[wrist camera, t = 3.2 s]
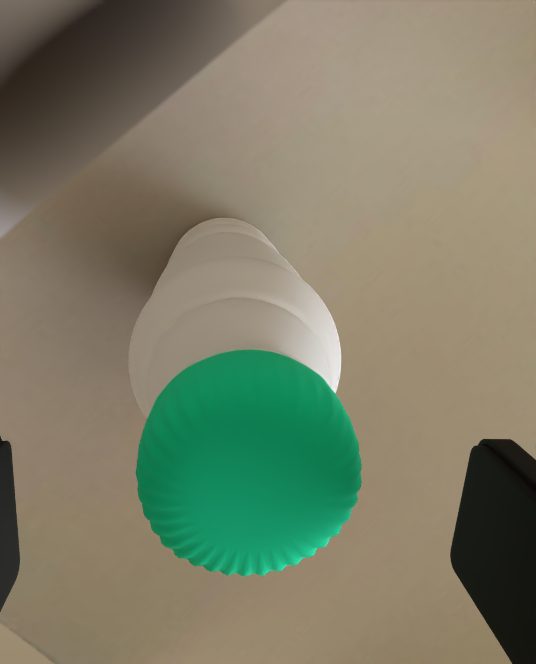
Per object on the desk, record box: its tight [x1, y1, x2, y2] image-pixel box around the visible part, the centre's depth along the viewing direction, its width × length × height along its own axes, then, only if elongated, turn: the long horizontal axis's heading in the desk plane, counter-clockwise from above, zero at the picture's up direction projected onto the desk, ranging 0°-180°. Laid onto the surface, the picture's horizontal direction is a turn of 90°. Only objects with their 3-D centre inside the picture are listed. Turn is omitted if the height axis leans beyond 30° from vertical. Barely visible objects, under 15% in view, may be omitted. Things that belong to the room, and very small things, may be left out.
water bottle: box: [128, 218, 361, 577], centre depth 22 cm, size 7×7×25 cm
